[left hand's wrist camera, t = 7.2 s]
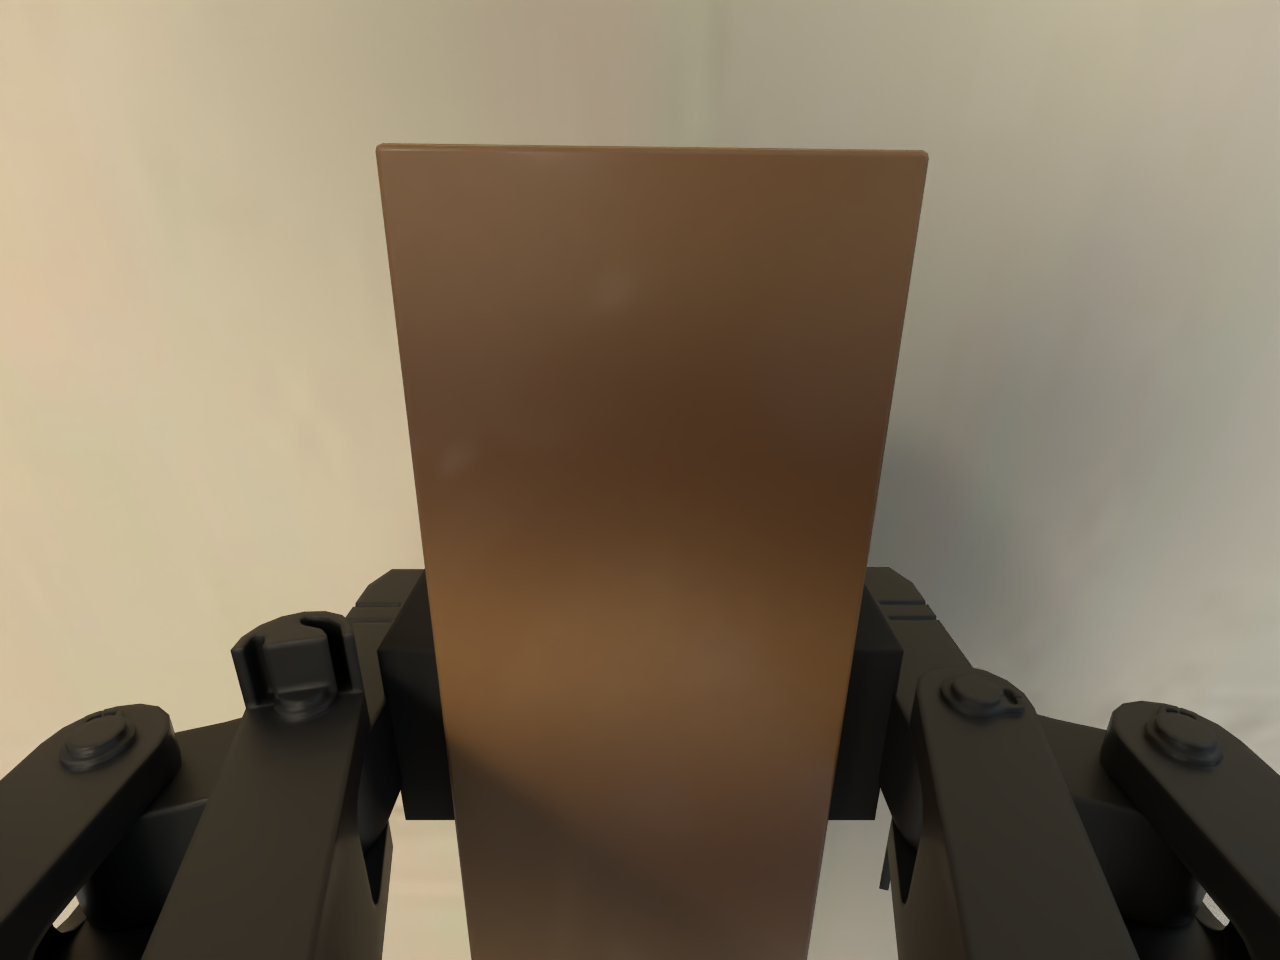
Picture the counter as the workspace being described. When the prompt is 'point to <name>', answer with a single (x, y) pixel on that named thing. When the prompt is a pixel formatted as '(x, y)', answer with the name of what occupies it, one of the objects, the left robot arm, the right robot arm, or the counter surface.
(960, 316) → the counter surface
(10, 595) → the counter surface
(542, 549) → the bar
